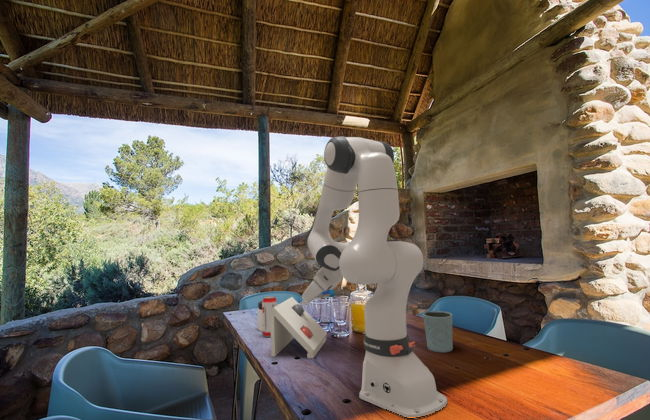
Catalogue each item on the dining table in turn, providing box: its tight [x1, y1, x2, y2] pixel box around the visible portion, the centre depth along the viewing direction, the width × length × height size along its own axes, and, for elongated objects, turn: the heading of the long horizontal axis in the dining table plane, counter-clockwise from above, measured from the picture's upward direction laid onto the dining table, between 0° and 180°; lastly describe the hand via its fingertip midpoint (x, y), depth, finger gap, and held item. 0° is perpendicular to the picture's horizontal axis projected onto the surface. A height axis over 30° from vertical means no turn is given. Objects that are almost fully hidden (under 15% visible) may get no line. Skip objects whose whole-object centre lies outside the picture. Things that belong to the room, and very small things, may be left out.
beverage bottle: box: [318, 289, 336, 299], centre depth 163 cm, size 8×8×20 cm
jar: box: [256, 300, 263, 333], centre depth 153 cm, size 9×8×12 cm
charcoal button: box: [293, 303, 305, 316], centre depth 131 cm, size 5×4×5 cm
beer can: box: [262, 295, 278, 338], centre depth 143 cm, size 6×6×16 cm
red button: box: [300, 326, 312, 338], centre depth 122 cm, size 5×4×5 cm
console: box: [270, 296, 328, 359], centre depth 126 cm, size 16×20×17 cm
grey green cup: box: [422, 310, 454, 353], centre depth 121 cm, size 10×10×12 cm
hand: (303, 303), depth 131 cm, fingers closed
